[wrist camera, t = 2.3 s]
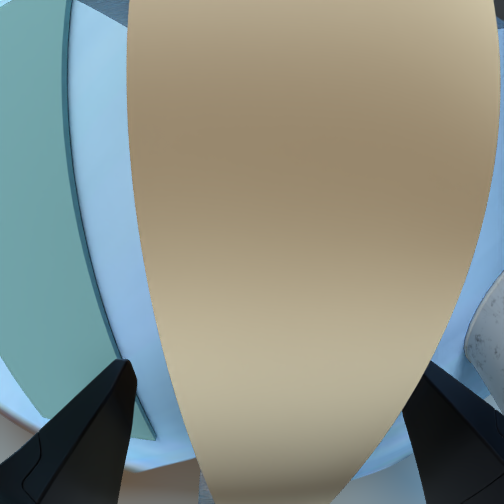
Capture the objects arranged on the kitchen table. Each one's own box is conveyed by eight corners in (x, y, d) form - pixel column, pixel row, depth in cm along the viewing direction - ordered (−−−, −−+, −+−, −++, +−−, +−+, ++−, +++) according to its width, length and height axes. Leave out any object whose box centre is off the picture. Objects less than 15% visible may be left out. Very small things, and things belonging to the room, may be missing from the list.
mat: (75, -25, 6) (70, -28, 5) (156, 436, 18) (155, 440, 17) (-64, 57, 6) (-69, 58, 5) (44, 413, 17) (42, 416, 17)
